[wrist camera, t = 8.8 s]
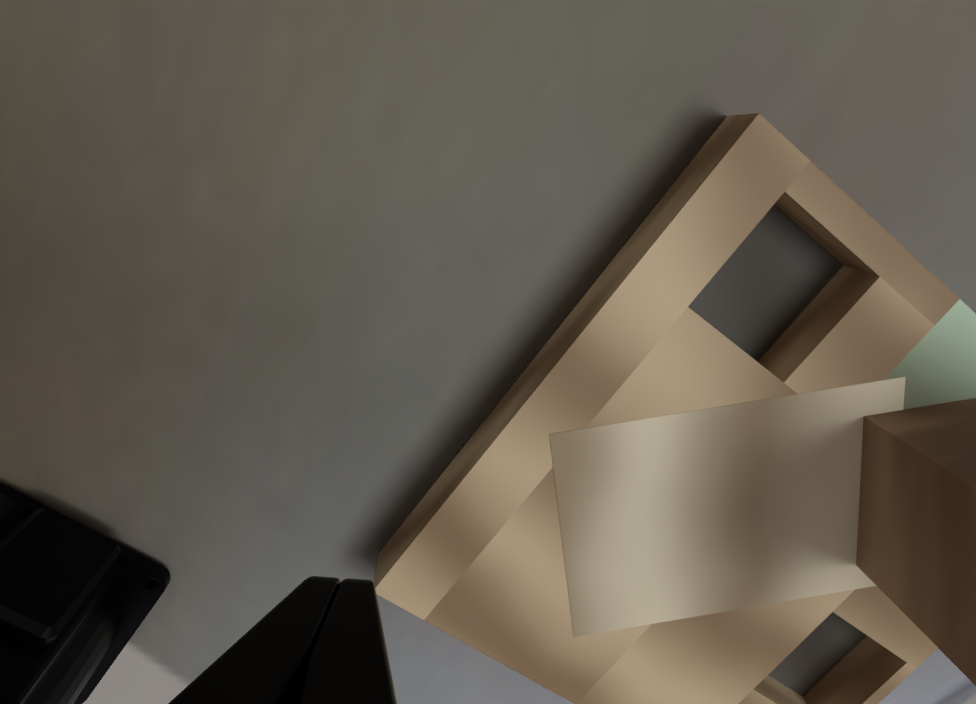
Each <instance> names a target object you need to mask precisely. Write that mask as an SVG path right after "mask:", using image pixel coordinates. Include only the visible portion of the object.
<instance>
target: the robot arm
mask: <svg viewBox="0 0 976 704" xmlns="http://www.w3.org/2000/svg"><path fill="white" fill-rule="evenodd" d="M149 577H151V578H154V579H156V580H157V581H158V582H157V583H155V582H151V581H150V580H149V579H148V578H149ZM170 579H171V577H170V573H169V571H168V570H167V569H166V568H165V567H164V566H162V565H160V564H158V563H156V562H154V561H152V560H150V559H149V558H147V557H145V556H143V555H141V554H139V553H137V552H135V551H133V550H131V549H129V548H127V547H125V546H123V545H121V544H119V543H118V542H116V541H114V540H112V539H110V538H108V537H106V536H104V535H102V534H100V533H98V532H96V531H94V530H92V529H90V528H89V527H87V526H85V525H83V524H81V523H79V522H77V521H75V520H73V519H71V518H69V517H67V516H65V515H63V514H61V513H60V512H58V511H56V510H54V509H52V508H50V507H48V506H46V505H44V504H42V503H40V502H38V501H36V500H34V499H32V498H30V497H29V496H27V495H25V494H23V493H21V492H19V491H17V490H15V489H13V488H11V487H9V486H7V485H5V484H3V483H1V482H0V704H82V703H83V702H84V701H86V699H87V698H88V697H89V695H90V694H91V693H92V691H93V690H94V689H95V687H96V686H97V684H98V683H99V682H100V680H101V679H102V677H103V676H104V675H105V673H106V672H107V670H108V669H109V668H110V666H111V665H112V663H113V662H114V660H115V659H116V658H117V656H118V655H119V654H120V652H121V651H122V649H123V648H124V647H125V645H126V644H127V642H128V641H129V640H130V638H131V637H132V635H133V634H134V633H135V631H136V630H137V628H138V627H139V626H140V624H141V623H142V621H143V620H144V619H145V617H146V616H147V614H148V613H149V612H150V610H151V609H152V607H153V606H154V605H155V603H156V602H157V600H158V599H159V598H160V596H161V595H162V593H163V592H164V590H165V589H166V587H167V586H168V584H169V582H170ZM169 704H397V702H396V697H395V691H394V686H393V681H392V675H391V670H390V665H389V659H388V654H387V649H386V643H385V638H384V633H383V627H382V622H381V617H380V611H379V606H378V601H377V595H376V590H375V585H374V583H373V582H372V581H371V580H361V579H345V580H343V581H342V582H341V581H340V580H339V579H338V578H332V577H318V576H312V577H309V578H307V579H306V580H304V581H303V582H302V583H301V584H300V585H299V586H298V587H297V588H295V589H294V590H293V591H292V592H291V593H290V594H289V595H288V596H287V597H286V598H284V599H283V600H282V601H281V602H280V603H279V604H278V605H277V606H276V607H275V608H273V609H272V610H271V611H270V612H269V613H268V614H267V615H266V616H265V617H263V618H262V619H261V620H260V621H259V622H258V623H257V624H256V625H255V626H254V627H252V628H251V629H250V630H249V631H248V632H247V633H246V634H245V635H244V636H243V637H241V638H240V639H239V640H238V641H237V642H236V643H235V644H234V645H233V646H231V647H230V648H229V649H228V650H227V651H226V652H225V653H224V654H223V655H222V656H220V657H219V658H218V659H217V660H216V661H215V662H214V663H213V664H212V665H210V666H209V667H208V668H207V669H206V670H205V671H204V672H203V673H202V674H201V675H199V676H198V677H197V678H196V679H195V680H194V681H193V682H192V683H191V684H190V685H188V686H187V687H186V688H185V689H184V690H183V691H182V692H181V693H180V694H179V695H177V696H176V697H175V698H174V699H173V700H172V701H171V702H170V703H169Z"/></svg>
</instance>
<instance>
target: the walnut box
mask: <svg viewBox="0 0 976 704" xmlns="http://www.w3.org/2000/svg"><path fill="white" fill-rule="evenodd" d="M856 565H857V566H858V567H859V568H860V570H861V571H862V572H863V573H864V574H865V575H866V576H867V577H868V578H869V579H870V580H871V581H872V582H873V583H874V584H875V585H876V586H877V587H878V588H879V589H880V590H881V591H882V592H883V593H884V594H885V595H886V596H887V597H888V598H889V599H890V600H891V601H892V602H893V603H894V604H895V605H896V606H897V607H898V608H899V609H900V610H901V611H902V612H903V613H904V614H905V615H906V616H907V617H908V618H909V619H910V620H911V621H912V622H913V623H914V624H915V625H916V626H917V627H918V628H919V629H920V630H921V631H922V632H923V633H924V634H925V635H926V636H927V637H928V638H929V639H930V640H931V641H932V642H933V643H934V644H935V645H936V646H937V647H938V648H939V649H940V650H941V651H942V652H943V653H944V654H945V655H946V656H947V657H948V658H949V659H950V660H951V661H952V662H953V663H954V664H955V665H956V666H957V667H958V668H959V669H960V670H961V671H962V672H963V673H964V674H965V675H966V676H967V677H968V678H969V679H970V680H971V681H972V682H973V683H974V684H975V685H976V398H973V399H967V400H961V401H954V402H948V403H942V404H936V405H930V406H924V407H917V408H911V409H905V410H899V411H893V412H887V413H881V414H874V415H868V416H864V418H863V437H862V457H861V477H860V497H859V517H858V537H857V556H856Z"/></svg>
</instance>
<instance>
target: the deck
mask: <svg viewBox="0 0 976 704" xmlns="http://www.w3.org/2000/svg"><path fill="white" fill-rule="evenodd" d="M973 398H976V314H975V313H974V312H973V311H972V310H971V309H970V308H969V307H968V306H967V305H966V304H965V303H964V302H962V301H961V300H960V299H959V298H958V297H957V296H956V295H955V294H954V293H953V292H952V291H951V290H950V289H948V288H947V287H946V286H945V285H944V284H943V283H942V282H941V281H940V280H939V279H938V278H937V277H935V276H934V275H933V274H932V273H931V272H930V271H929V270H928V269H927V268H926V267H925V266H924V265H922V264H921V263H920V262H919V261H918V260H917V259H916V258H915V257H914V256H913V255H912V254H911V253H909V252H908V251H907V250H906V249H905V248H904V247H903V246H902V245H901V244H900V243H899V242H898V241H897V240H895V239H894V238H893V237H892V236H891V235H890V234H889V233H888V232H887V231H886V230H885V229H884V228H882V227H881V226H880V225H879V224H878V223H877V222H876V221H875V220H874V219H873V218H872V217H871V216H869V215H868V214H867V213H866V212H865V211H864V210H863V209H862V208H861V207H860V206H859V205H858V204H857V203H855V202H854V201H853V200H852V199H851V198H850V197H849V196H848V195H847V194H846V193H845V192H844V191H842V190H841V189H840V188H839V187H838V186H837V185H836V184H835V183H834V182H833V181H832V180H831V179H829V178H828V177H827V176H826V175H825V174H824V173H823V172H822V171H821V170H820V169H819V168H818V167H816V166H815V165H814V164H813V163H812V162H811V161H810V160H809V159H808V158H807V157H806V156H805V155H804V154H802V153H801V152H800V151H799V150H798V149H797V148H796V147H795V146H794V145H793V144H792V143H791V142H789V141H788V140H787V139H786V138H785V137H784V136H783V135H782V134H781V133H780V132H779V131H778V130H776V129H775V128H774V127H773V126H772V125H771V124H770V123H769V122H768V121H767V120H766V119H765V118H764V117H762V116H761V115H760V114H759V113H758V114H745V115H733V116H727V117H726V118H725V119H724V121H723V122H722V123H721V124H720V126H719V127H718V128H717V129H716V131H715V132H714V133H713V134H712V136H711V137H710V138H709V139H708V141H707V142H706V143H705V144H704V146H703V147H702V148H701V149H700V151H699V152H698V153H697V155H696V156H695V157H694V158H693V160H692V161H691V162H690V163H689V165H688V166H687V167H686V168H685V170H684V171H683V172H682V173H681V175H680V176H679V177H678V178H677V180H676V181H675V182H674V183H673V185H672V186H671V187H670V188H669V190H668V191H667V192H666V193H665V195H664V196H663V197H662V198H661V200H660V201H659V202H658V203H657V205H656V206H655V207H654V208H653V210H652V211H651V212H650V213H649V215H648V216H647V217H646V218H645V220H644V221H643V222H642V223H641V225H640V226H639V227H638V229H637V230H636V231H635V232H634V234H633V235H632V236H631V237H630V239H629V240H628V241H627V242H626V244H625V245H624V246H623V247H622V249H621V250H620V251H619V252H618V254H617V255H616V256H615V257H614V259H613V260H612V261H611V262H610V264H609V265H608V266H607V267H606V269H605V270H604V271H603V272H602V274H601V275H600V276H599V277H598V279H597V280H596V281H595V282H594V284H593V285H592V286H591V287H590V289H589V290H588V291H587V292H586V294H585V295H584V296H583V297H582V299H581V300H580V301H579V303H578V304H577V305H576V306H575V308H574V309H573V310H572V311H571V313H570V314H569V315H568V316H567V318H566V319H565V320H564V321H563V323H562V324H561V325H560V326H559V328H558V329H557V330H556V331H555V333H554V334H553V335H552V336H551V338H550V339H549V340H548V341H547V343H546V344H545V345H544V346H543V348H542V349H541V350H540V351H539V353H538V354H537V355H536V356H535V358H534V359H533V360H532V361H531V363H530V364H529V365H528V366H527V368H526V369H525V370H524V371H523V373H522V374H521V375H520V377H519V378H518V379H517V380H516V382H515V383H514V384H513V385H512V387H511V388H510V389H509V390H508V392H507V393H506V394H505V395H504V397H503V398H502V399H501V400H500V402H499V403H498V404H497V405H496V407H495V408H494V409H493V410H492V412H491V413H490V414H489V415H488V417H487V418H486V419H485V420H484V422H483V423H482V424H481V425H480V427H479V428H478V429H477V430H476V432H475V433H474V434H473V435H472V437H471V438H470V439H469V440H468V442H467V443H466V444H465V445H464V447H463V448H462V449H461V450H460V452H459V453H458V454H457V456H456V457H455V458H454V459H453V461H452V462H451V463H450V464H449V466H448V467H447V468H446V469H445V471H444V472H443V473H442V474H441V476H440V477H439V478H438V479H437V481H436V482H435V483H434V484H433V486H432V487H431V488H430V489H429V491H428V492H427V493H426V494H425V496H424V497H423V498H422V499H421V501H420V502H419V503H418V504H417V506H416V507H415V508H414V509H413V511H412V512H411V513H410V514H409V516H408V517H407V518H406V519H405V521H404V522H403V523H402V524H401V526H400V527H399V528H398V530H397V531H396V532H395V533H394V535H393V536H392V537H391V538H390V540H389V541H388V542H387V543H386V545H385V546H384V547H383V548H382V550H381V551H380V552H379V553H378V556H377V563H376V570H375V577H374V585H375V590H376V594H377V595H379V596H381V597H383V598H384V599H386V600H388V601H390V602H392V603H394V604H395V605H397V606H399V607H401V608H403V609H404V610H406V611H408V612H410V613H412V614H413V615H415V616H417V617H419V618H421V619H422V620H424V621H426V622H428V623H430V624H431V625H433V626H435V627H437V628H439V629H440V630H442V631H444V632H446V633H448V634H450V635H451V636H453V637H455V638H457V639H459V640H460V641H462V642H464V643H466V644H468V645H469V646H471V647H473V648H475V649H477V650H478V651H480V652H482V653H484V654H486V655H487V656H489V657H491V658H493V659H495V660H497V661H498V662H500V663H502V664H504V665H506V666H507V667H509V668H511V669H513V670H515V671H516V672H518V673H520V674H522V675H524V676H525V677H527V678H529V679H531V680H533V681H534V682H536V683H538V684H540V685H542V686H543V687H545V688H547V689H549V690H551V691H553V692H554V693H556V694H558V695H560V696H562V697H563V698H565V699H567V700H569V701H571V702H572V703H574V704H878V703H879V702H880V701H881V700H882V699H883V698H884V697H886V696H887V695H888V694H889V693H890V692H891V691H892V690H893V689H894V688H895V687H896V686H898V685H899V684H900V683H901V682H902V681H903V680H904V679H905V678H906V677H907V676H908V675H910V674H911V673H912V672H913V671H914V670H915V669H916V668H917V667H918V666H919V665H920V664H922V663H923V662H924V661H925V660H926V659H927V658H928V657H929V656H930V655H931V654H932V653H934V652H935V651H936V650H937V649H938V647H937V646H936V645H935V644H934V643H933V642H932V641H931V640H930V639H929V638H928V637H927V636H926V635H925V634H924V633H923V632H922V631H921V630H920V629H919V628H918V627H917V626H916V625H915V624H914V623H913V622H912V621H911V620H910V619H909V618H908V617H907V616H906V615H905V614H904V613H903V612H902V611H901V610H900V609H899V608H898V607H897V606H896V605H895V604H894V603H893V602H892V601H891V600H890V599H889V598H888V597H887V596H886V595H885V594H884V593H883V592H882V591H881V590H880V589H879V588H878V587H877V586H876V585H875V584H874V583H873V582H872V581H871V580H870V579H869V578H868V577H867V576H866V575H865V574H864V573H863V572H862V571H861V570H860V568H859V567H858V566H857V565H856V556H857V537H858V517H859V497H860V477H861V457H862V437H863V418H864V416H868V415H874V414H881V413H887V412H893V411H899V410H905V409H911V408H917V407H924V406H930V405H936V404H942V403H948V402H954V401H961V400H967V399H973Z"/></svg>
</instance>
